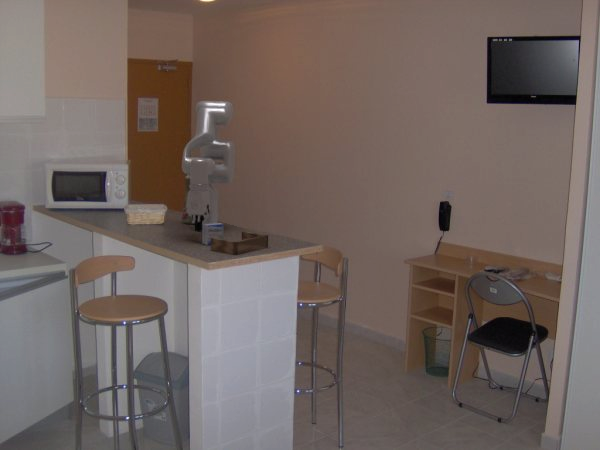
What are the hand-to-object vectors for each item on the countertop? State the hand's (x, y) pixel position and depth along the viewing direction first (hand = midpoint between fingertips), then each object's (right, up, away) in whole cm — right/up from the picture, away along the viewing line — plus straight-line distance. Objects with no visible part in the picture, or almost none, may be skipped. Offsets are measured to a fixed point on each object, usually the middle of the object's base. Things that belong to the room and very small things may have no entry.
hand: (198, 230), depth 305 cm
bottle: (-11, +3, +47) cm, 48 cm away
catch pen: (+18, -7, -10) cm, 22 cm away
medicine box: (+6, -6, -3) cm, 9 cm away
